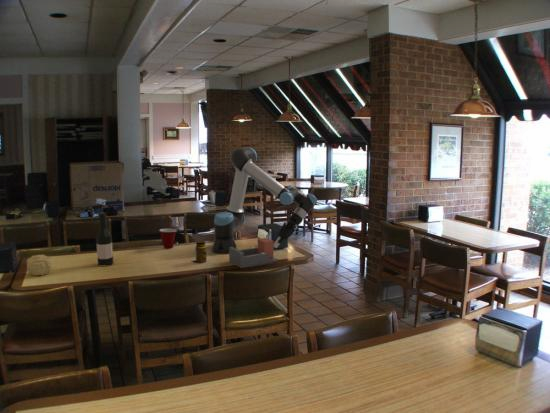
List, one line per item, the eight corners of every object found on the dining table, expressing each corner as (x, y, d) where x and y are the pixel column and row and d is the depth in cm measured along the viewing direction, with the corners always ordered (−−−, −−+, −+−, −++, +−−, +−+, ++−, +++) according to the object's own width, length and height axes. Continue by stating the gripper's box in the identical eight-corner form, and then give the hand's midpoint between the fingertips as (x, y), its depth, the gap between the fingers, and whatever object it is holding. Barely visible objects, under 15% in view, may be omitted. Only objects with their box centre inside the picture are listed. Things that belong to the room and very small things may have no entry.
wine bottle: (116, 262, 277) (113, 211, 272) (107, 266, 270) (103, 214, 264) (104, 261, 280) (100, 210, 274) (94, 265, 272) (90, 213, 267)
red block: (257, 255, 285) (257, 239, 283) (267, 253, 288) (267, 237, 287) (264, 259, 278) (264, 242, 276) (274, 257, 282) (274, 240, 280)
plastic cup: (181, 246, 310) (180, 228, 308) (168, 250, 301) (168, 232, 299) (168, 244, 316) (168, 226, 313) (156, 248, 307) (155, 230, 305)
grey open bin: (229, 261, 280) (228, 247, 279) (265, 255, 292) (265, 241, 290) (241, 268, 267) (240, 253, 265) (278, 261, 279) (278, 247, 277)
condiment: (209, 262, 279) (208, 242, 276) (195, 264, 274) (195, 244, 272) (203, 259, 285) (203, 239, 282) (190, 261, 280) (189, 241, 278)
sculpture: (27, 279, 250) (25, 259, 248) (28, 272, 261) (26, 252, 259) (51, 276, 255) (49, 256, 253) (51, 269, 266) (50, 250, 263)
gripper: (307, 221, 286) (284, 253, 281) (295, 217, 297) (272, 247, 292) (300, 214, 283) (276, 245, 277) (288, 210, 294) (265, 240, 288)
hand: (274, 246), depth 285 cm, fingers closed
